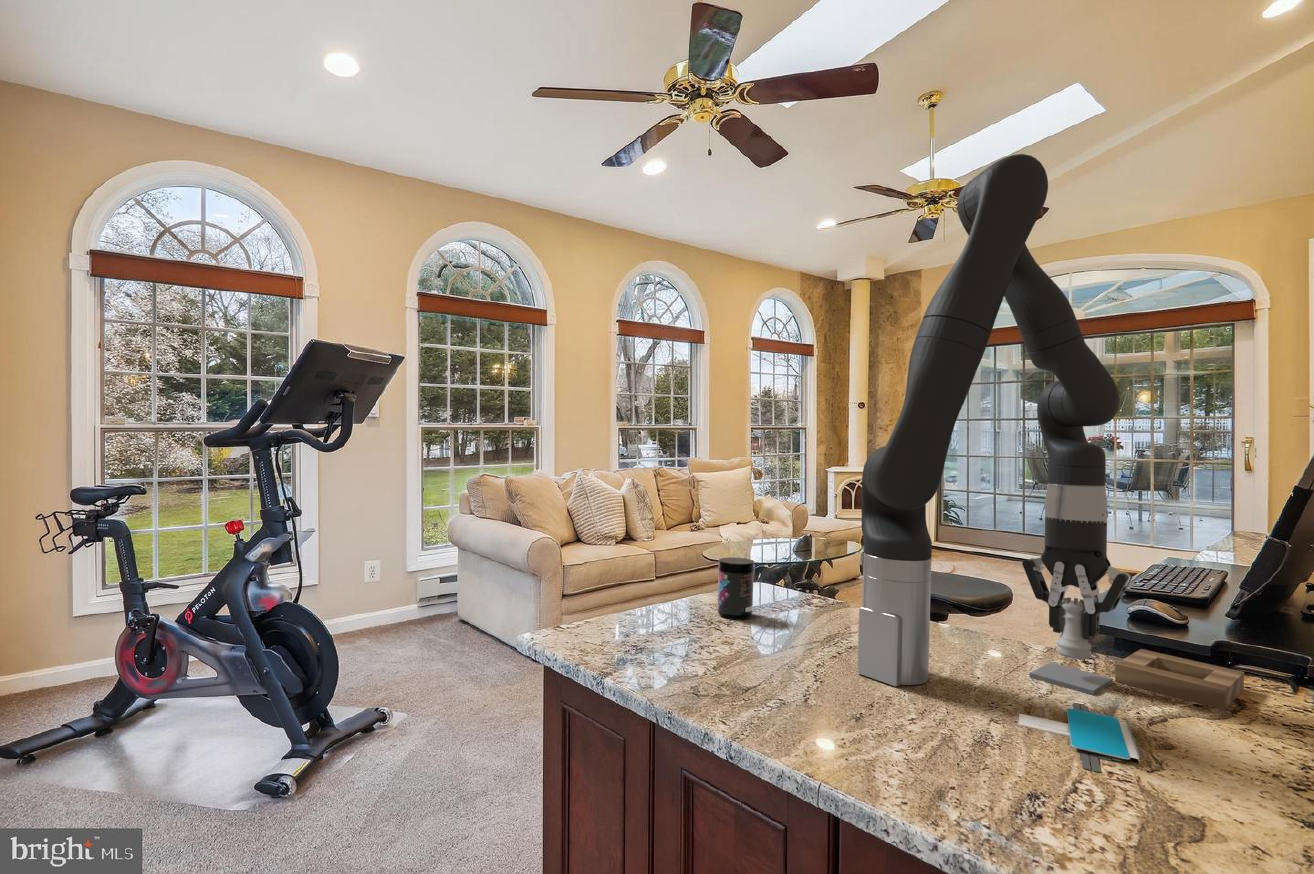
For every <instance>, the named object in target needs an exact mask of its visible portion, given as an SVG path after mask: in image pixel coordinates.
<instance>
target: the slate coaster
mask: <svg viewBox="0 0 1314 874" xmlns="http://www.w3.org/2000/svg"><path fill="white" fill-rule="evenodd" d="M1028 674H1029V678H1032V679H1036V680H1038V681H1042V682H1046V683H1050V684H1053V685H1056V686H1060V687H1064V688H1067V689H1070V690H1075V691H1077V692H1081V693H1085V694H1088V695H1091V696H1094V695H1096V694H1097V693H1099V692H1101V691H1102V690H1104V689H1105V688H1106V687H1108V686H1110V685H1112V684H1113V683H1114V678H1112V677H1109V676H1106V675H1103V674H1102V675H1101V674H1098V673H1095V672H1094V673H1093V672H1089V671H1086V670H1082V669H1079V668H1074V667H1071V666H1067V665H1064V664H1060V663H1055V662H1051V661H1050V662H1048V663H1046V664H1045V665H1042V666H1041V667H1039V668H1036V669H1034V670H1032V671H1030V672H1029V673H1028Z"/></svg>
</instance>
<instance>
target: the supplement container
mask: <svg viewBox="0 0 1314 874" xmlns="http://www.w3.org/2000/svg"><path fill="white" fill-rule="evenodd" d="M717 568H718V577H717V578H718V584H717V585H718V586H717V613H718V615H719V616H721V617H723V618H724V619H729V620H747V619H749V618H751V617H752V615H753V610H754V609H753V606H754V603H753V602H754V577H755V576H754V573H755V561H754V560H752V559H749V558H743V557H731V556H730V557H721V558H719V559H718V567H717Z"/></svg>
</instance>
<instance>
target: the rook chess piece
mask: <svg viewBox="0 0 1314 874" xmlns="http://www.w3.org/2000/svg"><path fill="white" fill-rule="evenodd" d="M1061 606H1062V607H1063V609H1064V614H1063V617H1064V624H1063V630H1062V632H1061V633H1060V635H1059V637H1058V639H1056V642H1055V644H1056V645H1057V647H1056V648H1055V650H1056V652H1057V653H1058V655H1060V656H1062V657H1064V658H1068V659H1073V660H1088V659H1090V658H1091V657H1092V656H1093V654H1092V652H1090V650H1092V645H1091V644H1090V643H1089V642H1088V641H1089V640H1087V639H1084V638H1083V623H1084V613H1085V612H1086V610H1085V605H1084V600H1083V598H1082V599H1079V598H1077V597H1074V598H1073V600H1072V598H1071V597H1064V601H1063V603H1062V604H1061Z"/></svg>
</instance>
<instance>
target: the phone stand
mask: <svg viewBox="0 0 1314 874" xmlns="http://www.w3.org/2000/svg"><path fill="white" fill-rule="evenodd" d="M1072 706H1073V708H1069V707H1068V708H1067V709H1066V713H1067V721H1068V723H1065V722H1062V721H1056V720H1053V719H1047V718H1042V717H1037V716H1033V715H1028V714H1023V713H1019V714H1018V715H1019V716H1018V726H1020V727H1025V728H1029V729H1033V730H1038V731H1043V732H1045V733H1052V734H1056V735H1060V736H1065V737H1069V738H1070V745H1071V747H1073V748H1074V749H1077V750H1078V751H1079V759H1080V761H1081V767H1082V768H1083V769H1085V770H1090V771H1094V772H1098V773H1101V772H1102V771H1101V767H1100V759H1102V760H1105V761H1110V762H1111V761H1112V760H1115V761H1119V762H1124V763H1127V761H1126V760H1131V758H1133V759H1136V761H1137V764H1138V765H1140V764H1141V761H1144V760H1145V758H1144V759H1143V758H1142V757H1143V755H1141V756H1140V754H1141V752H1139V751H1142V750H1141V749H1138V748H1140V746H1137V743H1136V741H1135V739H1134V734H1133V731H1132V730H1133V728H1132V729H1131V727H1133V725H1131V726H1130V723H1129V721H1128V720H1126V722H1124V721H1120V720H1119V719H1118V718H1117V717H1114V716H1110V715H1105V714H1100V713H1099V714H1098V713H1096V712H1095V713H1094V712H1090V711H1089V708H1088V705H1086V704H1079V703H1074V702H1072ZM1140 758H1142V759H1140Z"/></svg>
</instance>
